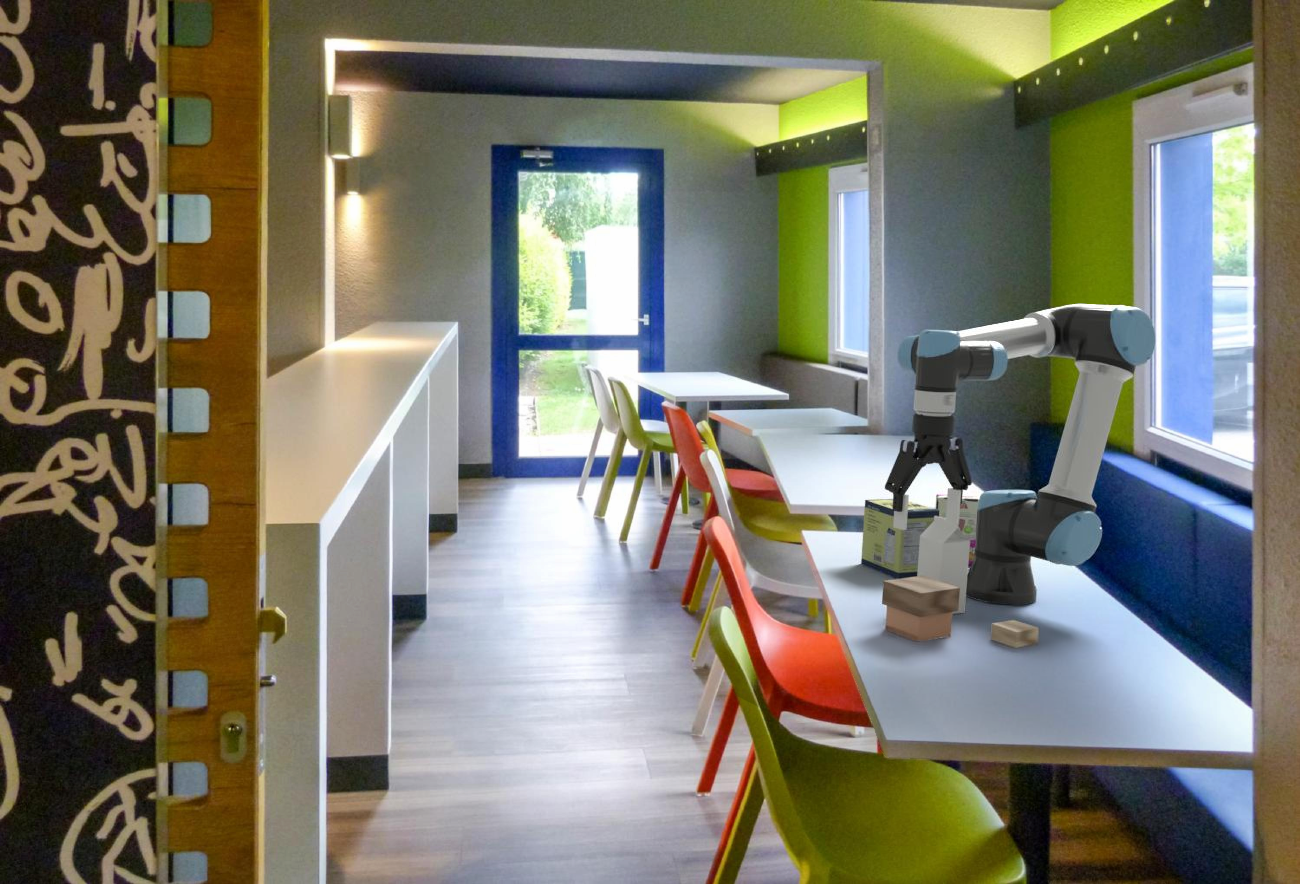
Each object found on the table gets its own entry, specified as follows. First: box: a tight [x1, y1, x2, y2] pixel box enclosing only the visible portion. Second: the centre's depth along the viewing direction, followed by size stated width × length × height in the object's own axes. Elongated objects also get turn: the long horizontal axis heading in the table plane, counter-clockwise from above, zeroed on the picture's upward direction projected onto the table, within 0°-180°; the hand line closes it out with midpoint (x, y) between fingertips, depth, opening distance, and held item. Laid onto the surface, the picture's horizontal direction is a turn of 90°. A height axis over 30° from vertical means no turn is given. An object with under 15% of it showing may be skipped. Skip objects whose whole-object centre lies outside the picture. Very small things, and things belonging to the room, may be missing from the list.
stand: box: [990, 619, 1040, 649], centre depth 230 cm, size 6×6×3 cm
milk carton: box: [917, 516, 970, 615], centre depth 249 cm, size 7×7×19 cm
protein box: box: [860, 498, 939, 579], centre depth 283 cm, size 10×16×16 cm
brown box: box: [881, 576, 960, 617], centre depth 232 cm, size 10×10×4 cm
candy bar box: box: [935, 493, 980, 568], centre depth 292 cm, size 11×5×16 cm, turn 80°
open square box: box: [884, 605, 953, 643], centre depth 233 cm, size 9×9×5 cm
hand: (926, 525), depth 231 cm, fingers open, 13 cm apart
